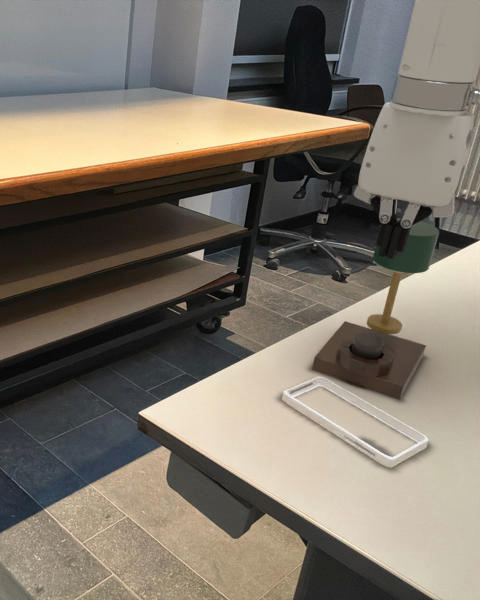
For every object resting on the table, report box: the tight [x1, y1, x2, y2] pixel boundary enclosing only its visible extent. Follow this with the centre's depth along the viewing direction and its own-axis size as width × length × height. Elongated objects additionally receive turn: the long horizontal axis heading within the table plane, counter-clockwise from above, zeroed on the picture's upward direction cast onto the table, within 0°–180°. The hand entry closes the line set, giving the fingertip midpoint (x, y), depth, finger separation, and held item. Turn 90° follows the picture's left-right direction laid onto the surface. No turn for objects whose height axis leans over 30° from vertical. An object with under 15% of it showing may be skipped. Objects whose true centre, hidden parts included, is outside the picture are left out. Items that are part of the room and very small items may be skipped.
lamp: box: [366, 217, 440, 335], centre depth 89 cm, size 7×7×14 cm
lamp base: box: [311, 320, 427, 401], centre depth 90 cm, size 11×14×4 cm
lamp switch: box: [351, 333, 384, 360], centre depth 86 cm, size 4×4×2 cm
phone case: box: [281, 375, 430, 469], centre depth 79 cm, size 7×1×15 cm
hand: (388, 254), depth 80 cm, fingers closed
